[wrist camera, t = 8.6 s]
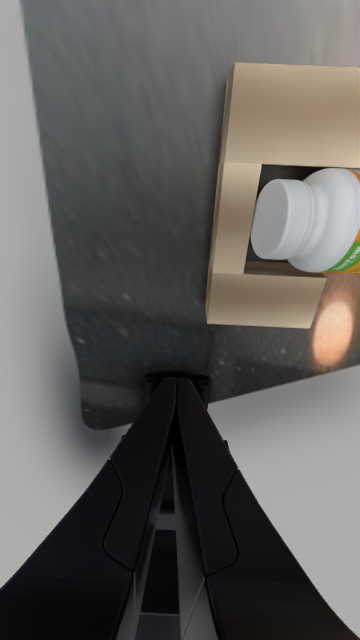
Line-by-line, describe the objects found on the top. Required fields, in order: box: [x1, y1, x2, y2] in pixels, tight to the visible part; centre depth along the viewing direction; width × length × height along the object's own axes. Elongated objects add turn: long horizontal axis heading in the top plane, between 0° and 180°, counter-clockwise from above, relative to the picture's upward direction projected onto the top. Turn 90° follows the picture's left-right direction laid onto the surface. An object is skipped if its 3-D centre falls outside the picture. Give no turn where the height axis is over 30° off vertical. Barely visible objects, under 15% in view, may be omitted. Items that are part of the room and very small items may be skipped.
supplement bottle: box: [250, 168, 360, 273], centre depth 15 cm, size 5×5×10 cm
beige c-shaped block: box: [205, 62, 360, 328], centre depth 17 cm, size 14×8×3 cm, turn 178°
